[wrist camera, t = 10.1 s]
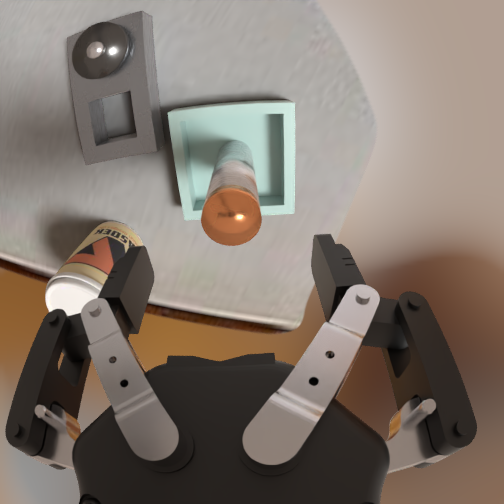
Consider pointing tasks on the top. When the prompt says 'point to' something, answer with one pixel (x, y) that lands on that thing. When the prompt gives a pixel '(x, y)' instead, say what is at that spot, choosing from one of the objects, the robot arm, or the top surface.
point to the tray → (242, 129)
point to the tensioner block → (115, 85)
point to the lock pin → (232, 197)
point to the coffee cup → (89, 267)
